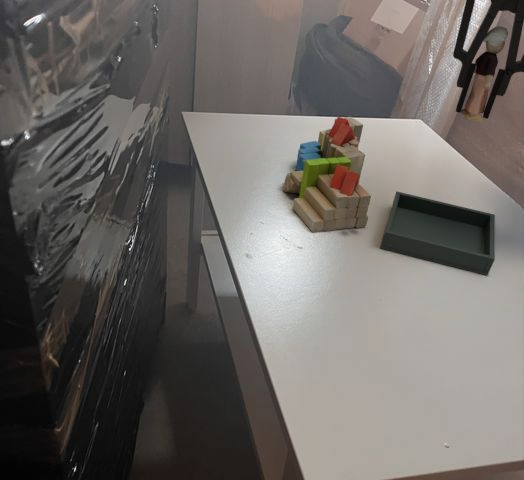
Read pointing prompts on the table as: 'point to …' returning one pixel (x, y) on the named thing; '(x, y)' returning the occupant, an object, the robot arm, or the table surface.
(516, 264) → the table surface
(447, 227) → the tray
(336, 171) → the pile of blocks
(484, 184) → the table surface
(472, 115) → the grandmother figurine
